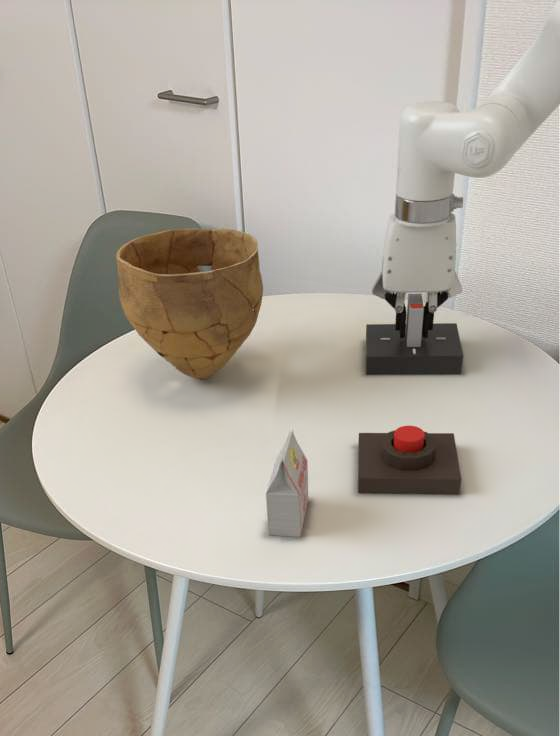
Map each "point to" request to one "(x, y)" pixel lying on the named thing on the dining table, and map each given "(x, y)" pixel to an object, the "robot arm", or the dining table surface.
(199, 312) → the bowl
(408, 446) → the power button
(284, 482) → the milk carton
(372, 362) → the black flat block
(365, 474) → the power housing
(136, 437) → the dining table surface
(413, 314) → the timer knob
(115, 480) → the dining table surface
